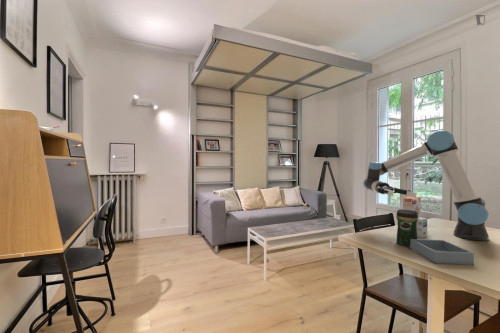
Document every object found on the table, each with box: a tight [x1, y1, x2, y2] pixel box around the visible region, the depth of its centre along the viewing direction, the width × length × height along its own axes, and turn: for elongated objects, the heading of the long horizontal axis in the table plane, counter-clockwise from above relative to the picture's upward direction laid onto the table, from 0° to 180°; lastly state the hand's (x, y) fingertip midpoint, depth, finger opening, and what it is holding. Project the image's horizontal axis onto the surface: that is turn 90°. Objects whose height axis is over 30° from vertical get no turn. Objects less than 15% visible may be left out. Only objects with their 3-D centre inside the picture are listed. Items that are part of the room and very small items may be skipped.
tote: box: [409, 238, 475, 266], centre depth 110 cm, size 16×18×5 cm
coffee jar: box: [395, 208, 419, 248], centre depth 125 cm, size 10×8×19 cm
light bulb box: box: [417, 216, 428, 238], centre depth 144 cm, size 11×7×11 cm, turn 34°
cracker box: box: [402, 196, 421, 217], centre depth 157 cm, size 14×6×21 cm, turn 127°
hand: (404, 194), depth 131 cm, fingers open, 13 cm apart
